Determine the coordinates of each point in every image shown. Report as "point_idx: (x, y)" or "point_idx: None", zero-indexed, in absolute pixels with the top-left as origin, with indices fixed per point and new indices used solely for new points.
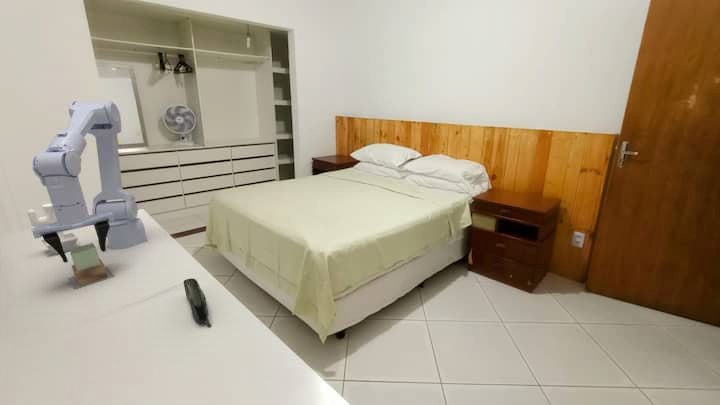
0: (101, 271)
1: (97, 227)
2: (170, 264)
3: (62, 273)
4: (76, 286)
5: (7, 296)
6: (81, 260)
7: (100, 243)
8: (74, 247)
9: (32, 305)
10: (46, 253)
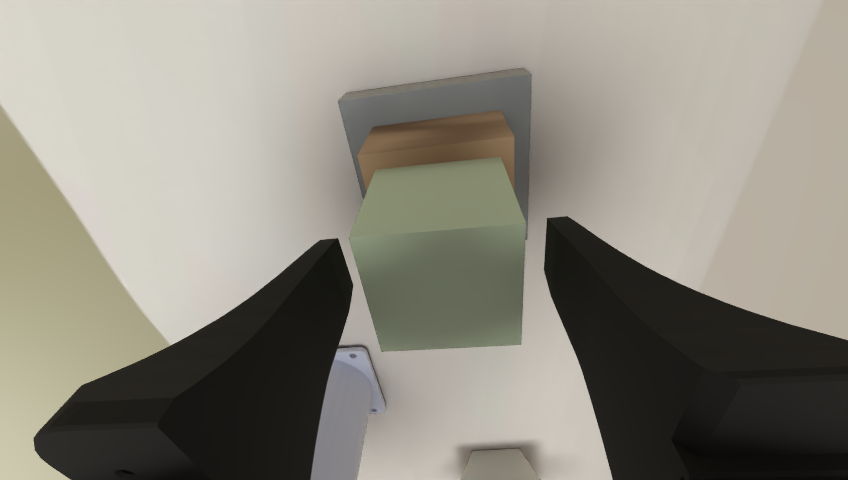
0: (387, 137)
1: (185, 436)
2: (94, 109)
3: (526, 324)
4: (513, 113)
5: (706, 264)
6: (469, 190)
7: (317, 292)
8: (470, 456)
9: (684, 104)
10: (535, 463)
